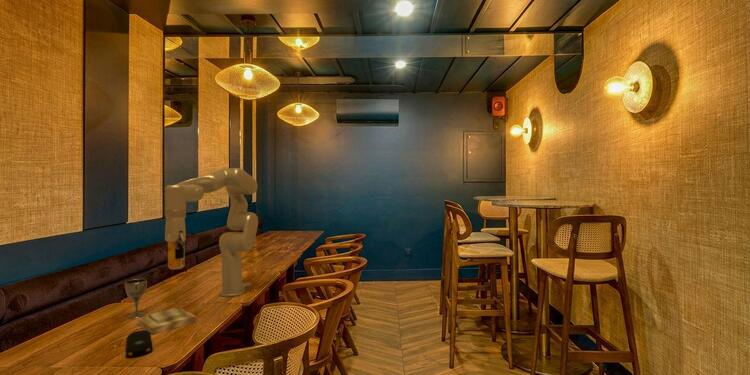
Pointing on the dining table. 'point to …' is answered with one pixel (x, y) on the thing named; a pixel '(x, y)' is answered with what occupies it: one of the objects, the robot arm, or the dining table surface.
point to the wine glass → (136, 294)
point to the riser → (166, 320)
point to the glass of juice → (172, 261)
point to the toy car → (138, 343)
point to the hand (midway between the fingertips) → (176, 257)
